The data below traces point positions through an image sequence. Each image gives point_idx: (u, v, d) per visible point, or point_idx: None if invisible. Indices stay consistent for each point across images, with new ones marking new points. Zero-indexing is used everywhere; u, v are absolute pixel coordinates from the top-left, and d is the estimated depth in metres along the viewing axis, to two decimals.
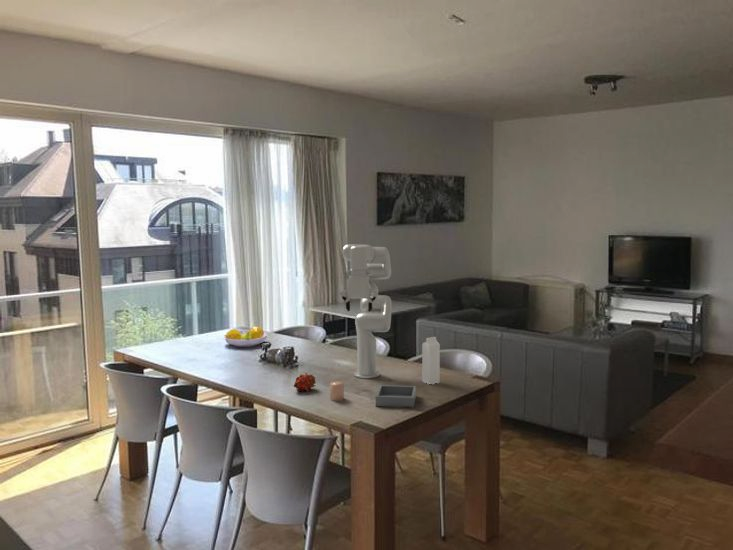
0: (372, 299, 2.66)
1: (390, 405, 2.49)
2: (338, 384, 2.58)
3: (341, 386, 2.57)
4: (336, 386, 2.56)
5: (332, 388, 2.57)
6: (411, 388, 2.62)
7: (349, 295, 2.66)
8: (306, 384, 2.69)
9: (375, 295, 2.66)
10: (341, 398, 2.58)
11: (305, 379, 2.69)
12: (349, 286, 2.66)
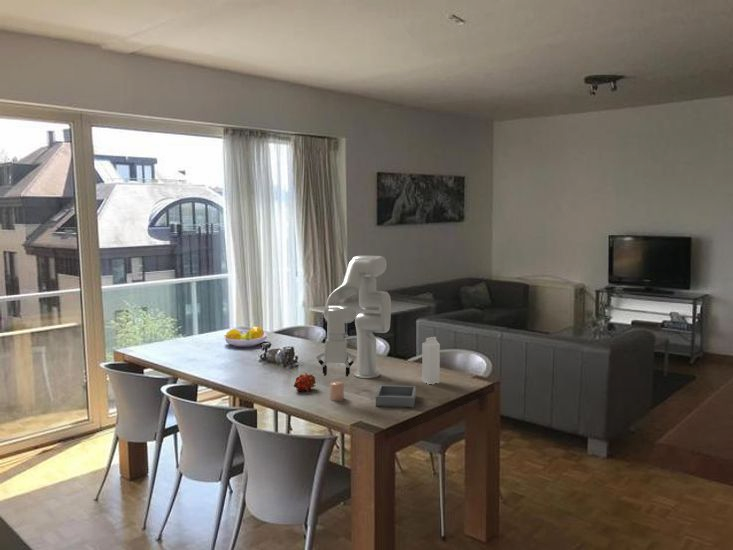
0: (350, 364, 2.56)
1: (390, 405, 2.49)
2: (338, 384, 2.58)
3: (341, 386, 2.57)
4: (336, 386, 2.56)
5: (332, 388, 2.57)
6: (411, 388, 2.62)
7: (326, 359, 2.56)
8: (306, 384, 2.69)
9: (353, 360, 2.56)
10: (341, 398, 2.58)
11: (305, 379, 2.69)
12: (326, 350, 2.56)
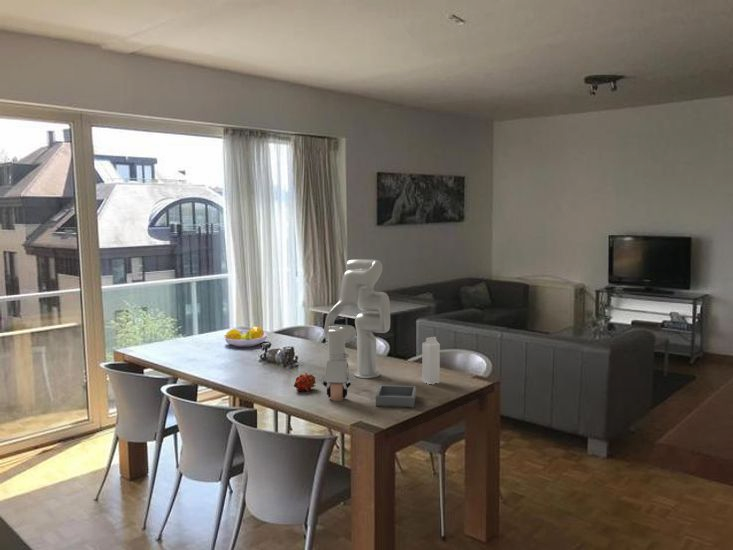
0: (347, 386, 2.58)
1: (390, 405, 2.49)
2: (338, 384, 2.58)
3: (341, 386, 2.57)
4: (336, 386, 2.56)
5: (332, 388, 2.57)
6: (411, 388, 2.62)
7: (326, 379, 2.57)
8: (306, 384, 2.69)
9: (351, 382, 2.58)
10: (341, 398, 2.58)
11: (305, 379, 2.69)
12: (326, 370, 2.57)
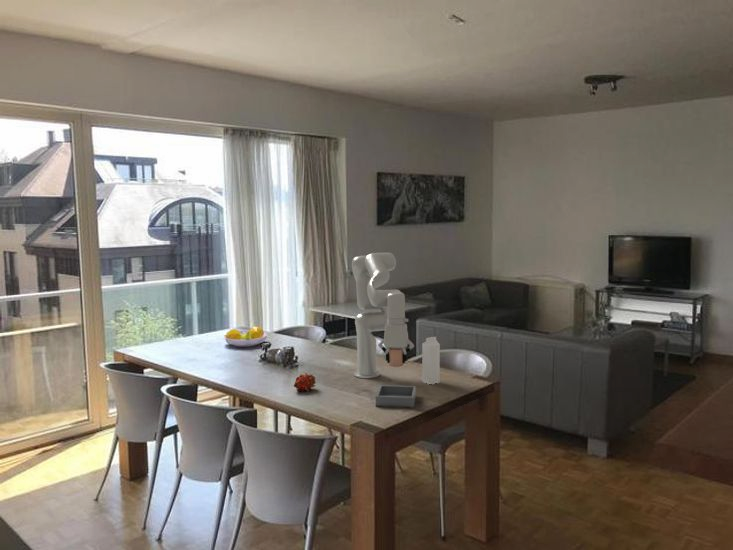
0: (407, 351, 2.52)
1: (390, 405, 2.49)
2: (397, 349, 2.53)
3: (401, 351, 2.52)
4: (396, 351, 2.51)
5: (392, 353, 2.52)
6: (411, 388, 2.62)
7: (386, 344, 2.52)
8: (306, 384, 2.69)
9: (411, 347, 2.52)
10: (401, 364, 2.52)
11: (305, 379, 2.69)
12: (386, 335, 2.51)
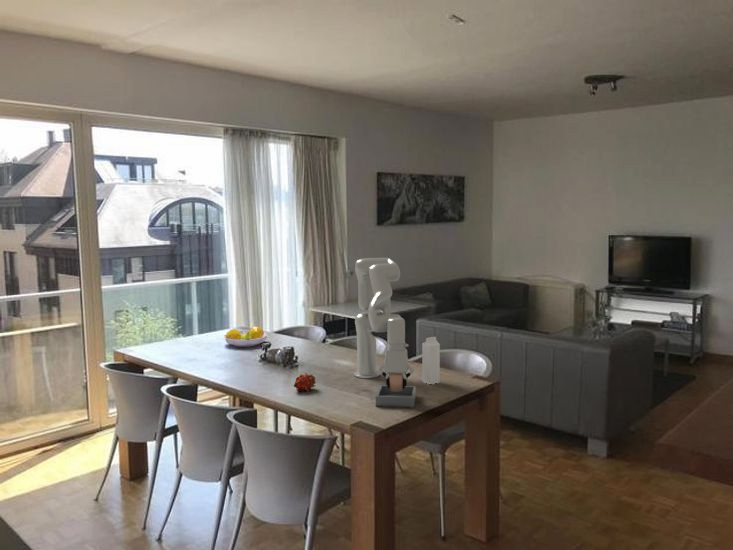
0: (407, 376, 2.54)
1: (390, 405, 2.49)
2: (397, 374, 2.54)
3: (401, 376, 2.53)
4: (396, 376, 2.52)
5: (392, 378, 2.53)
6: (411, 388, 2.62)
7: (386, 369, 2.53)
8: (306, 384, 2.69)
9: (411, 372, 2.53)
10: (401, 388, 2.53)
11: (305, 379, 2.69)
12: (386, 360, 2.53)
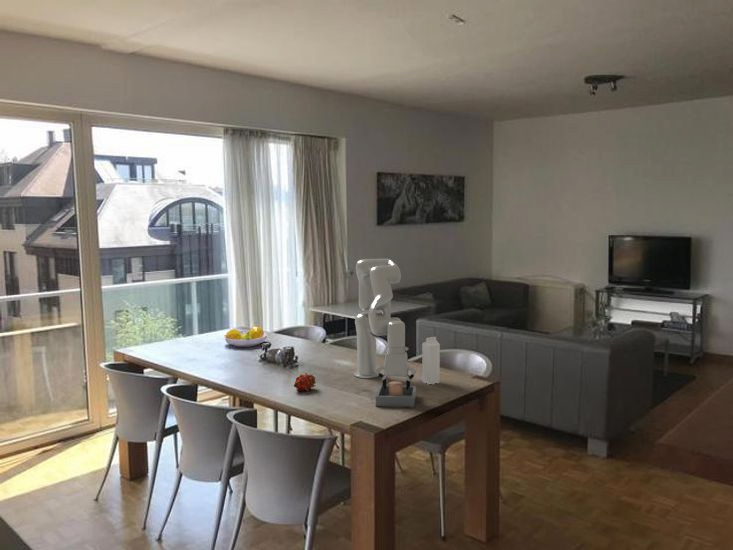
0: (410, 377, 2.54)
1: (390, 405, 2.49)
2: (397, 384, 2.54)
3: (400, 386, 2.53)
4: (395, 386, 2.53)
5: (391, 388, 2.53)
6: (411, 388, 2.62)
7: (386, 373, 2.53)
8: (306, 384, 2.69)
9: (413, 373, 2.53)
10: None
11: (305, 379, 2.69)
12: (386, 363, 2.53)
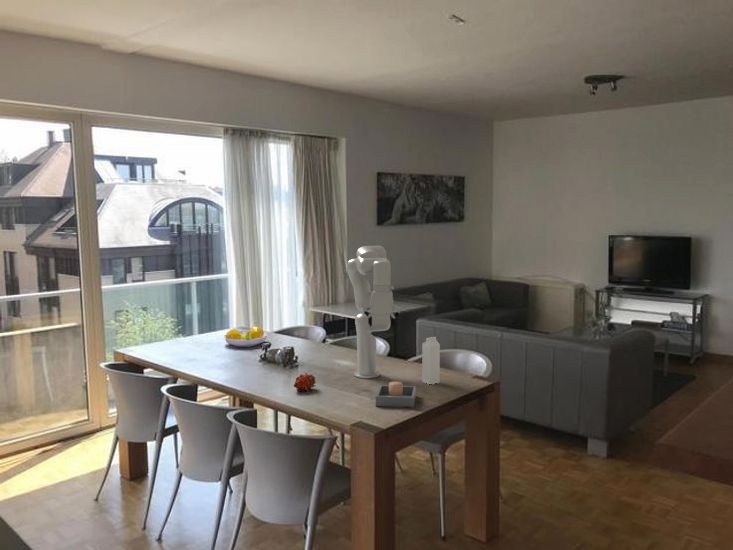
0: (395, 315, 2.61)
1: (390, 405, 2.49)
2: (397, 384, 2.54)
3: (400, 386, 2.54)
4: (395, 386, 2.53)
5: (391, 388, 2.53)
6: (411, 388, 2.62)
7: (372, 310, 2.61)
8: (306, 384, 2.69)
9: (398, 311, 2.61)
10: None
11: (305, 379, 2.69)
12: (372, 301, 2.60)
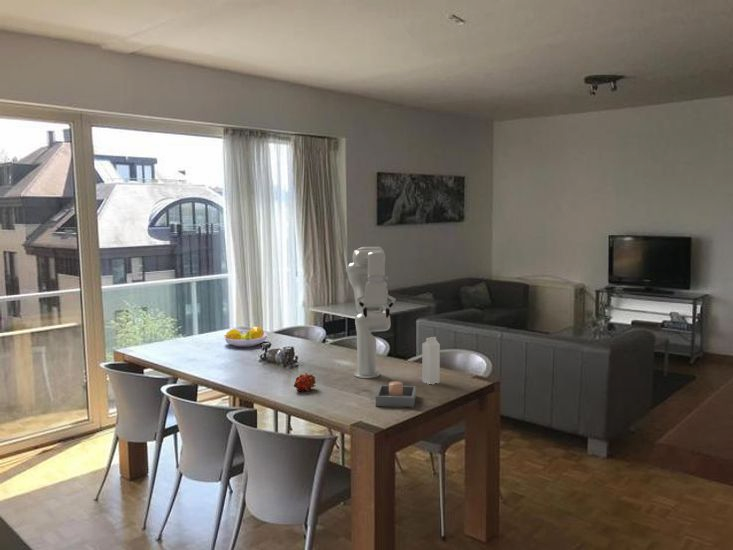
0: (390, 305, 2.64)
1: (390, 405, 2.49)
2: (397, 384, 2.54)
3: (400, 386, 2.53)
4: (396, 386, 2.53)
5: (391, 388, 2.53)
6: (411, 388, 2.62)
7: (366, 301, 2.64)
8: (306, 384, 2.69)
9: (393, 301, 2.64)
10: None
11: (305, 379, 2.69)
12: (366, 292, 2.64)
